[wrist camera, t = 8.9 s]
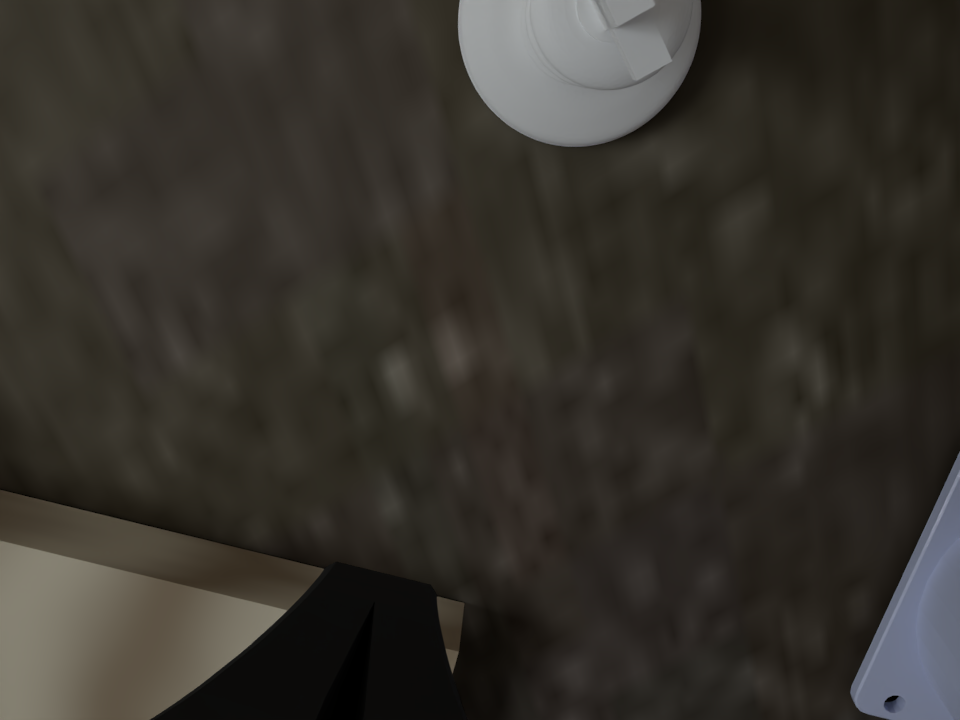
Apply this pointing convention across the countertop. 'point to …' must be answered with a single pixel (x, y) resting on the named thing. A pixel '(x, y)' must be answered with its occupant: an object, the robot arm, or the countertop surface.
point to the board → (131, 612)
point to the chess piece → (577, 63)
